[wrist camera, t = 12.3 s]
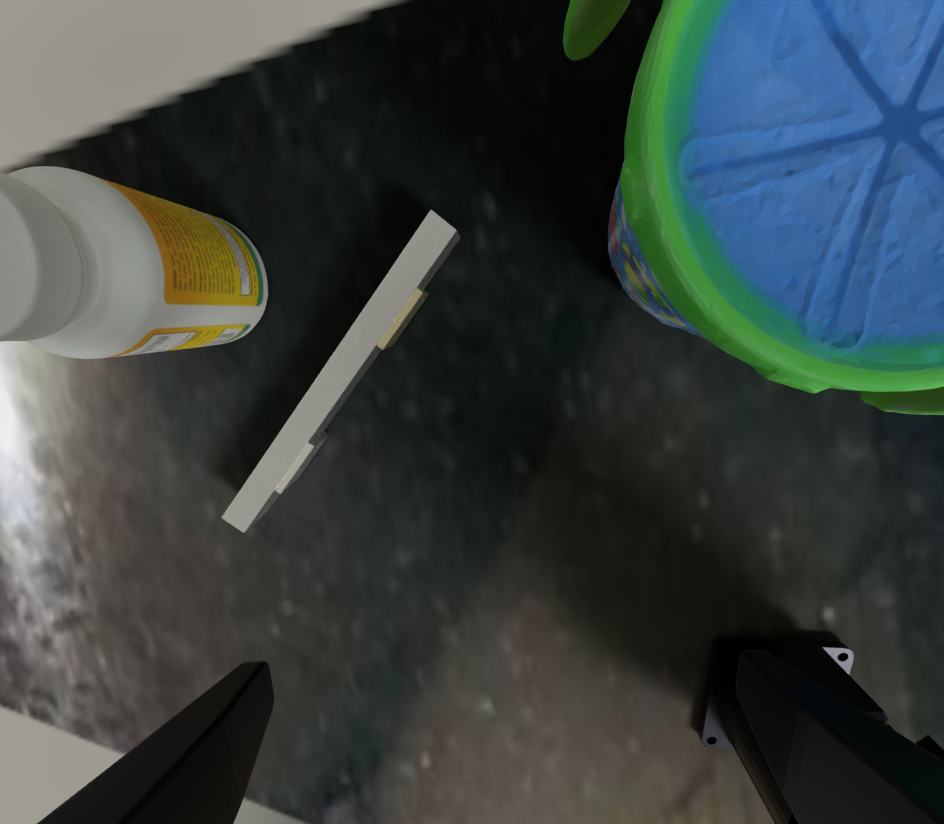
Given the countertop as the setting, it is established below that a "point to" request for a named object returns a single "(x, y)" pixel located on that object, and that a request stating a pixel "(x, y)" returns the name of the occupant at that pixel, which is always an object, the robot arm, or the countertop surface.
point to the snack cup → (789, 186)
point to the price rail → (345, 370)
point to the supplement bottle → (119, 269)
